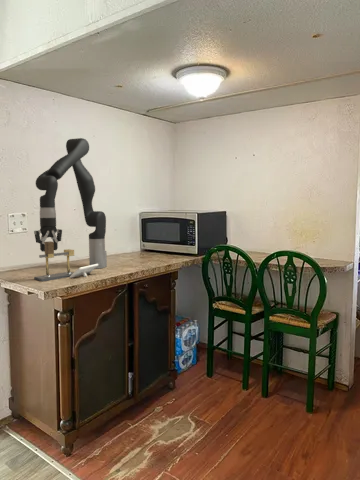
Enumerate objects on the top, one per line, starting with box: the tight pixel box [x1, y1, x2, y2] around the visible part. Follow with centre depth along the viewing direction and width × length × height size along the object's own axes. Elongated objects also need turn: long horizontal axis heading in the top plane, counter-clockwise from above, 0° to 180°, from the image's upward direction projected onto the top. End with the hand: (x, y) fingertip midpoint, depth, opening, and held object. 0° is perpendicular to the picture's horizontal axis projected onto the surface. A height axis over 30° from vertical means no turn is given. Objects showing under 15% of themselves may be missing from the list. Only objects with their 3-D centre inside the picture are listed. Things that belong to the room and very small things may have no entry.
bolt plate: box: [33, 271, 75, 282], centre depth 191 cm, size 20×8×2 cm, turn 139°
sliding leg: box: [44, 240, 55, 275], centre depth 185 cm, size 3×5×17 cm, turn 49°
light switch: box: [69, 264, 98, 278], centre depth 195 cm, size 8×5×14 cm
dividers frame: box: [38, 248, 75, 273], centre depth 189 cm, size 18×5×12 cm, turn 139°
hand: (49, 250), depth 185 cm, fingers open, 6 cm apart
